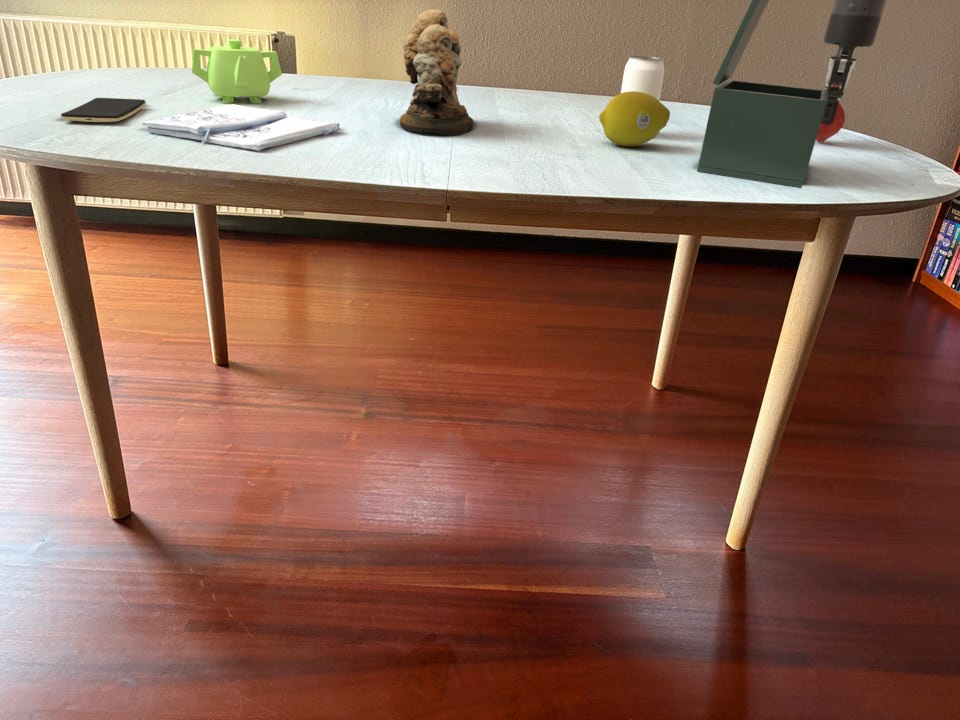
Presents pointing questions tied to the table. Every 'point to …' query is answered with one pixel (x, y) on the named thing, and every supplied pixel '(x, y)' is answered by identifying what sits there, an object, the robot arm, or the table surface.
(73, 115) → the smartphone
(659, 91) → the can
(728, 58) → the bin lid
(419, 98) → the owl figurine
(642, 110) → the lemon
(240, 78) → the teapot
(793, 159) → the trash bin
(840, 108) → the onion
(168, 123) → the open sketchbook
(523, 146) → the table surface
